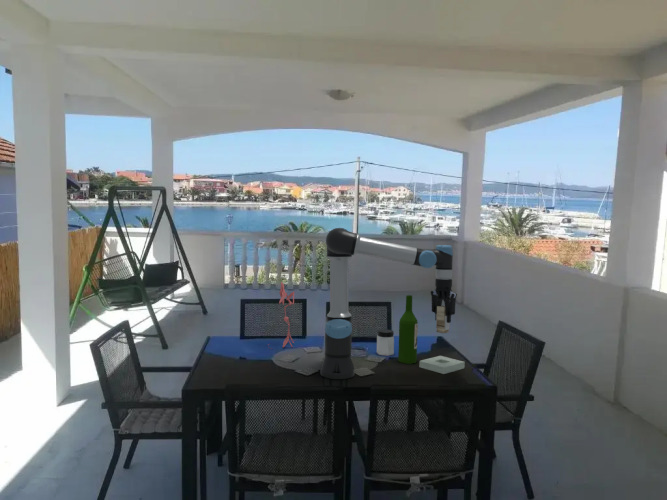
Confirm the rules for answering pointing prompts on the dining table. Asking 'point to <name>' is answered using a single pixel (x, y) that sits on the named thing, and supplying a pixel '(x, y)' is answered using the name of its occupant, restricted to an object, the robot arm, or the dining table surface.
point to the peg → (441, 319)
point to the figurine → (283, 295)
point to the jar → (385, 342)
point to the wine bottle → (408, 335)
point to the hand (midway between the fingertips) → (442, 328)
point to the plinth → (442, 364)
